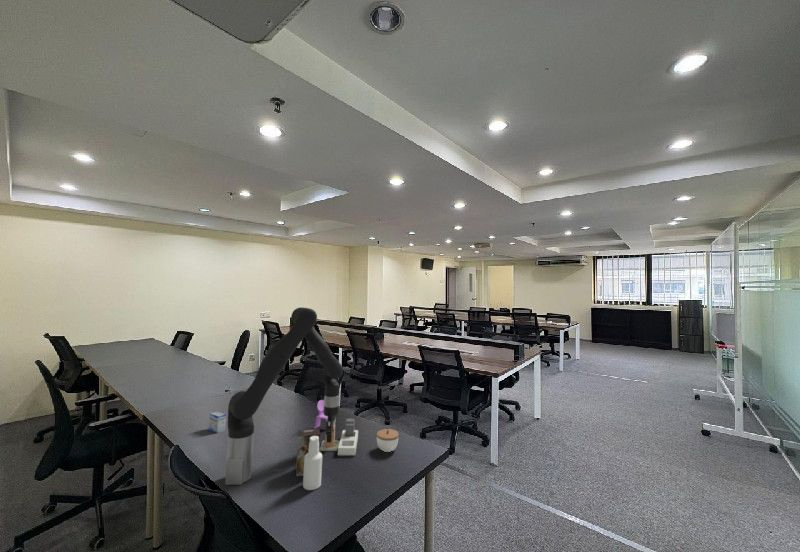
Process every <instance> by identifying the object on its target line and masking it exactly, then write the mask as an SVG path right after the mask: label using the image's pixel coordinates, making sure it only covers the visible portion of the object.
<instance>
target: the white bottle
mask: <svg viewBox="0 0 800 552" xmlns="http://www.w3.org/2000/svg"><path fill="white" fill-rule="evenodd" d="M322 469H323V454H322V452H321V451H320V452H319V437H318V436H312V437H310V443H309V450H308V453H307V454H306V455H305V457H304V476H302V477H303V479H302V487H303V489H304V490H306V491H315V490H317V489H319V488H320V487H321V486H322V472H323V471H322Z"/></svg>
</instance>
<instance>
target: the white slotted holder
mask: <svg viewBox="0 0 800 552" xmlns="http://www.w3.org/2000/svg"><path fill="white" fill-rule="evenodd" d="M355 422H356V421H355V418H346V420H345V429H343V430H342V431H341V436H340V439H339V446H338V449H337V457H356V454H357V445H358V440H359V429H355Z"/></svg>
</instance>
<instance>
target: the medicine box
mask: <svg viewBox="0 0 800 552" xmlns="http://www.w3.org/2000/svg"><path fill="white" fill-rule="evenodd" d="M208 419H209V420H208V421H209V422H208V431H211V432H212V433H216V434H219V433H222V432H225V430H226V423H227V422H226V419H227V414H226V413H223V412H219V411H214V412H211V413H210V414H209V418H208Z"/></svg>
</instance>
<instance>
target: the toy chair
mask: <svg viewBox="0 0 800 552" xmlns="http://www.w3.org/2000/svg"><path fill="white" fill-rule="evenodd" d="M316 410H318V415H316V418H315V424H314V427H313V429H318V427H320V426H321V421H322V420H325V421H327V418H328V416H325V415H324V399H320V400H318V402H317V405H316Z"/></svg>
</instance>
